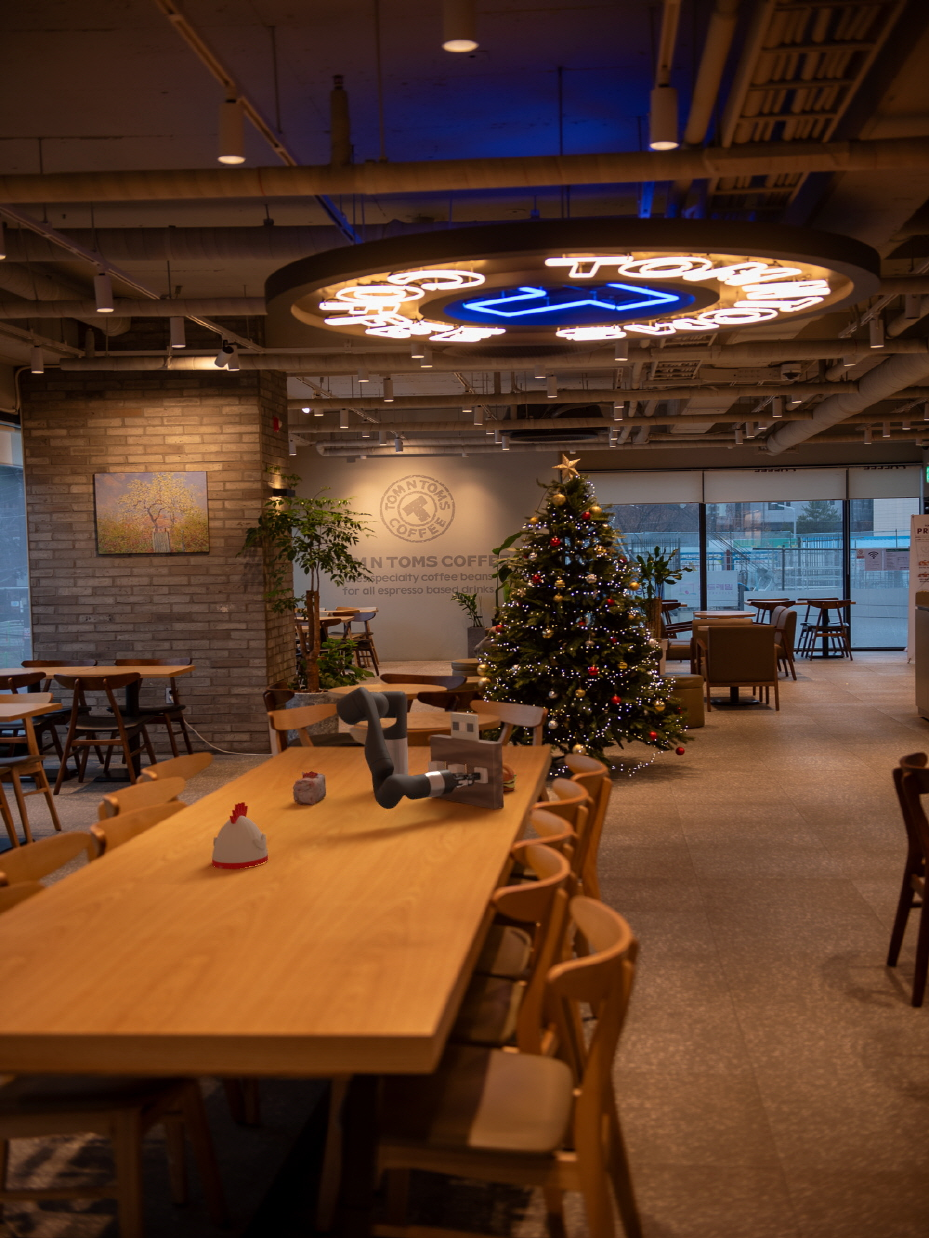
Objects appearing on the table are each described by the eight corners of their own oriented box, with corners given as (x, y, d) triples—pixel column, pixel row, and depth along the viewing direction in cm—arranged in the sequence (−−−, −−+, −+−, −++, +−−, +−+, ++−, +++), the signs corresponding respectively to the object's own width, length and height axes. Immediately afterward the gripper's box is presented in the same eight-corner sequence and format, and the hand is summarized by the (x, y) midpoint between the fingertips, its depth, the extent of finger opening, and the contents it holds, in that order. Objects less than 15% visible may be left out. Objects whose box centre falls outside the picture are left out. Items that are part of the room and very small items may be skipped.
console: (494, 809, 327) (492, 744, 327) (432, 796, 350) (430, 735, 350) (503, 807, 330) (501, 742, 330) (441, 794, 353) (439, 734, 352)
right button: (484, 783, 328) (483, 769, 328) (474, 781, 332) (474, 767, 332) (492, 781, 331) (492, 767, 331) (482, 780, 334) (482, 766, 334)
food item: (315, 806, 341) (314, 775, 341) (291, 806, 342) (290, 775, 342) (328, 797, 354) (327, 768, 354) (305, 797, 356) (304, 768, 355)
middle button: (457, 780, 335) (457, 766, 334) (448, 778, 338) (448, 765, 338) (465, 779, 337) (465, 765, 337) (456, 777, 340) (456, 763, 340)
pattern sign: (475, 741, 334) (474, 715, 334) (450, 737, 343) (449, 712, 343) (479, 740, 335) (478, 715, 335) (454, 737, 344) (453, 712, 344)
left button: (437, 776, 342) (436, 763, 342) (428, 775, 345) (428, 761, 345) (445, 775, 344) (445, 761, 344) (436, 773, 348) (436, 760, 348)
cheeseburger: (517, 785, 364) (516, 758, 362) (516, 799, 354) (515, 771, 351) (487, 785, 365) (486, 758, 363) (485, 799, 355) (484, 771, 352)
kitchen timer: (277, 856, 277) (275, 798, 276) (252, 870, 264) (250, 810, 263) (228, 854, 281) (226, 797, 280) (202, 868, 267) (199, 808, 267)
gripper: (449, 773, 314) (493, 765, 325) (421, 768, 324) (464, 761, 335) (450, 799, 314) (493, 790, 325) (422, 793, 324) (465, 785, 335)
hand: (478, 775), depth 330 cm, fingers closed
